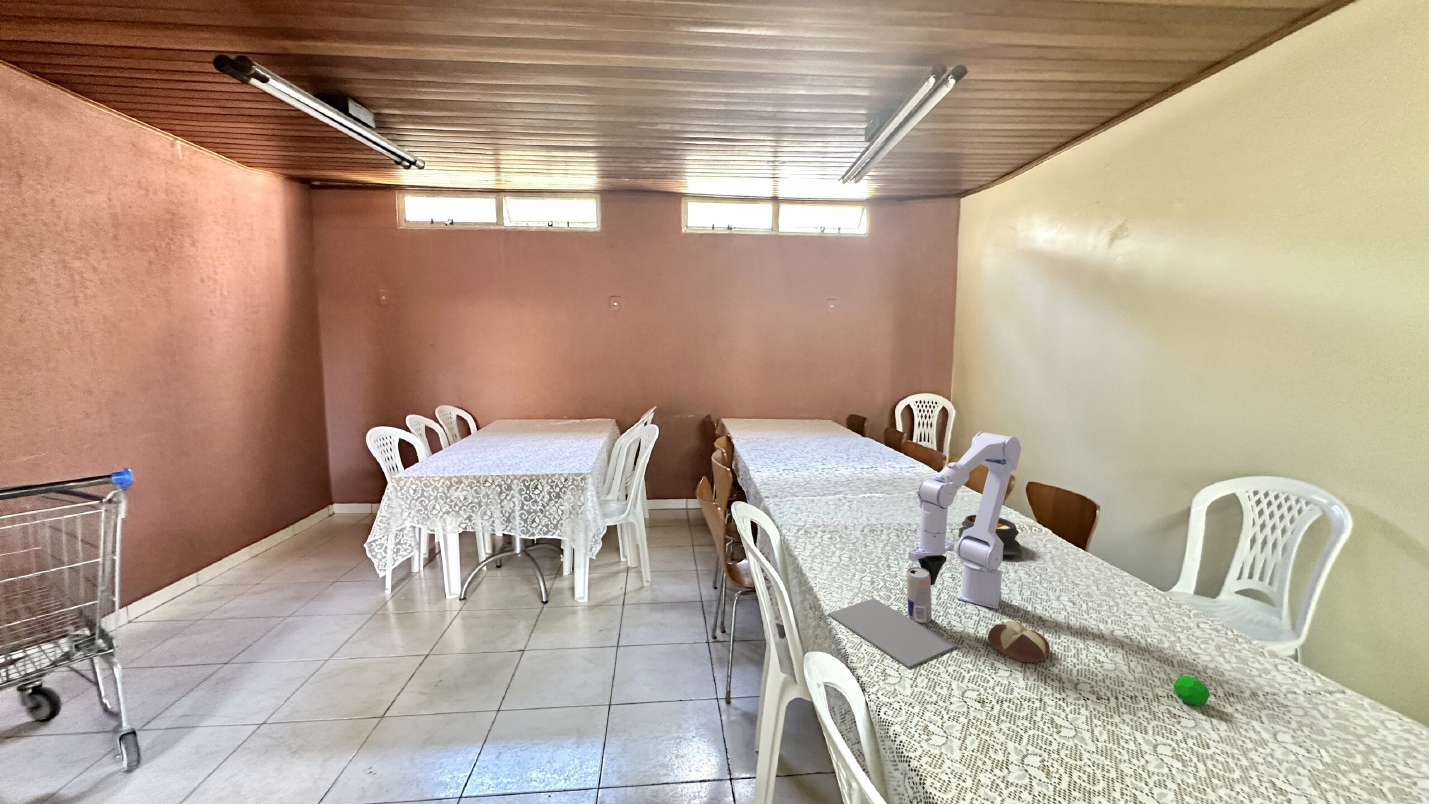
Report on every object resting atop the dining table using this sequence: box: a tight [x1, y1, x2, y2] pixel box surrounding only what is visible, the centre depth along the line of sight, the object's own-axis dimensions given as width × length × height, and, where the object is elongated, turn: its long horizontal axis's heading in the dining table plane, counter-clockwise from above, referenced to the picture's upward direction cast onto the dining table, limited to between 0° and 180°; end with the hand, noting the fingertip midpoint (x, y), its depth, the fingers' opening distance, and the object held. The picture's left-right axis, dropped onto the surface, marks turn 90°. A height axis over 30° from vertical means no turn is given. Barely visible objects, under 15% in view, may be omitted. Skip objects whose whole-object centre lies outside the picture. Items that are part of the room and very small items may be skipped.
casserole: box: [958, 514, 1023, 556], centre depth 174 cm, size 25×19×8 cm
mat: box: [827, 598, 958, 670], centre depth 120 cm, size 16×24×1 cm, turn 30°
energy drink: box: [906, 566, 933, 624], centre depth 125 cm, size 5×5×12 cm
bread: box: [987, 621, 1051, 663], centre depth 114 cm, size 11×11×5 cm
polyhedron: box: [1172, 675, 1211, 707], centre depth 97 cm, size 5×5×5 cm
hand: (929, 583), depth 126 cm, fingers closed
